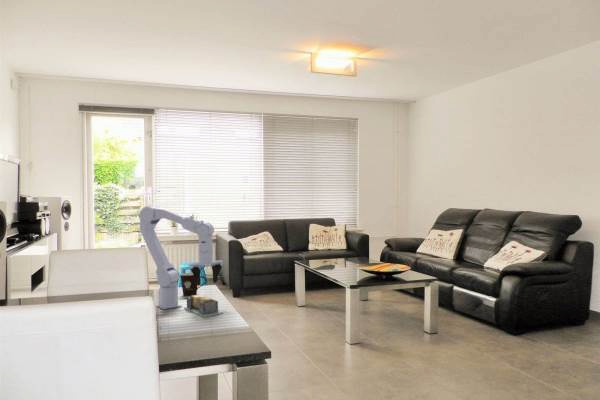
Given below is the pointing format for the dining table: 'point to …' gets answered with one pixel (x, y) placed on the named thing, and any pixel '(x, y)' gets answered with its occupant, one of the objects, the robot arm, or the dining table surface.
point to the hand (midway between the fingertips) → (206, 283)
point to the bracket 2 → (208, 307)
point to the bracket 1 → (190, 303)
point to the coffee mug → (189, 284)
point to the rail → (200, 300)
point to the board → (202, 314)
